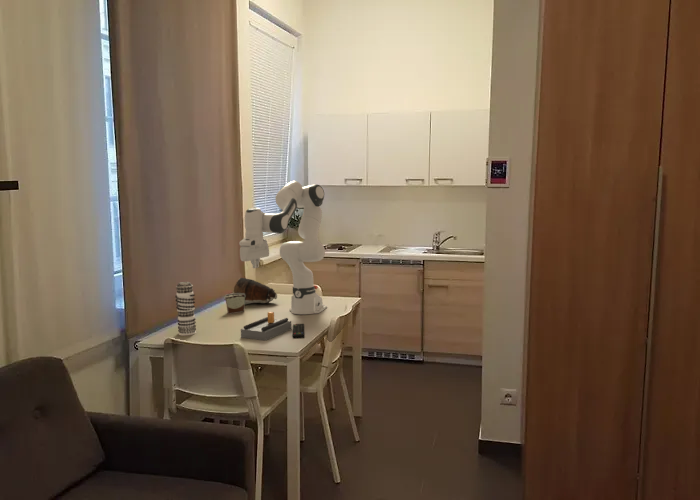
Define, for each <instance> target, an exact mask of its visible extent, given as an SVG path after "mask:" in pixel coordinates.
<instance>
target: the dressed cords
mask: <svg viewBox="0 0 700 500" xmlns="http://www.w3.org/2000/svg"><path fill="white" fill-rule="evenodd" d="M267 320H268V316H267V317H264V318H262V319H259V320H256V321H254V322H250V323H249V324H246V325H244V326H243V328H244V329H247V328H250V327H252V326H255V325H257V324H260V323H262V322H265V321H267ZM279 320H280V321H278V322H275V323H273V324H270V325H268V326H265V327H263V328H262V329H261V330H262V331H265V330H267V329H270V328H272V327H274V326H277V325H279V324H281V323H284V322H286V321H289V318H288V317H284V318H283V319H279Z"/></svg>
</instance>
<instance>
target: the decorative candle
mask: <svg viewBox="0 0 700 500" xmlns="http://www.w3.org/2000/svg"><path fill="white" fill-rule="evenodd" d="M193 286H194V285H193V284H192V283H191V282H190V281H181V282H178V284H177V285H176V286H175V289H176V293H175V294H176V295H175V297H174V298H175V302H176V304H175V305H176V308H175V309H176V311H177V315H178V316H177V325H178V326H177V329H178V333H177V334H178V335H179V336H192V335H195V334H196V333H197V331H196V330H197V328H196V327H197V322H196V320H197V319H196V315H195V309H196V308H195V305H194V304H195V303H196V302H195V300H196V298H194V296H196V294H194V290H193Z"/></svg>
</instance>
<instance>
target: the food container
mask: <svg viewBox="0 0 700 500" xmlns="http://www.w3.org/2000/svg"><path fill="white" fill-rule="evenodd" d="M245 297H246V295H245V294H244V293H234V292H231V293H227V294H225V295H224V298H223V299H224V301H225V304H226V310H227V314H228V315H231V314H237V313H242V312H245V306H246V304H245Z"/></svg>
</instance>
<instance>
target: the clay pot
mask: <svg viewBox="0 0 700 500" xmlns="http://www.w3.org/2000/svg"><path fill="white" fill-rule="evenodd" d="M233 293H244V294H245V295H246V297H245V305H249V304H257V303H258V304H269V303H270V302H272V301H273V300H277V299H278V294H277V293H276V292H275V290H274V288H272V287H271V288H270V286H268V285H266V284H262V283H261V282H259V281H256V280H255V279H250V278H246V277H239V278H238V279H237V281H236V282H235V284H234V287H233Z"/></svg>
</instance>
